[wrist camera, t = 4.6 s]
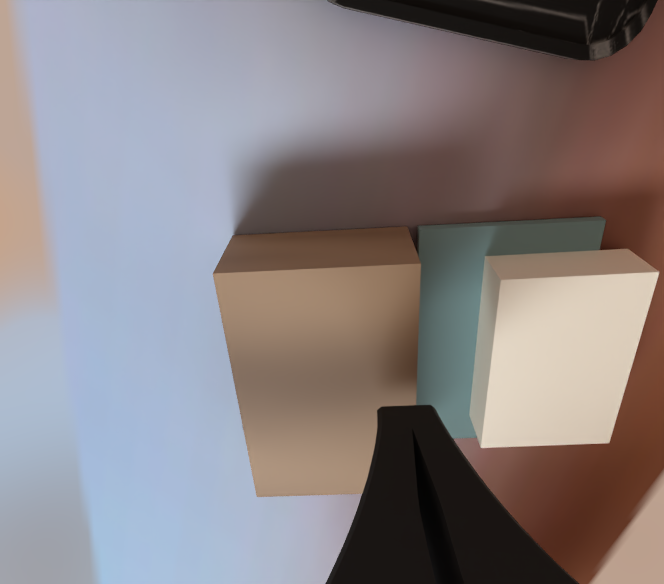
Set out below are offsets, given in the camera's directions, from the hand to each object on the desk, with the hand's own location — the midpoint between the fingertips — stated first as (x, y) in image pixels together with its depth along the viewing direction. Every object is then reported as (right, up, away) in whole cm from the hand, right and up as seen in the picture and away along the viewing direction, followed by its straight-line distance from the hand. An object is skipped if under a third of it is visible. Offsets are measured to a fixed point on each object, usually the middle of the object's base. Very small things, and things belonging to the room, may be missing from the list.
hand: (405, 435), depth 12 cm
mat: (+3, +2, +3) cm, 5 cm away
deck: (-2, +2, +3) cm, 4 cm away
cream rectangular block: (+5, +1, +2) cm, 5 cm away
